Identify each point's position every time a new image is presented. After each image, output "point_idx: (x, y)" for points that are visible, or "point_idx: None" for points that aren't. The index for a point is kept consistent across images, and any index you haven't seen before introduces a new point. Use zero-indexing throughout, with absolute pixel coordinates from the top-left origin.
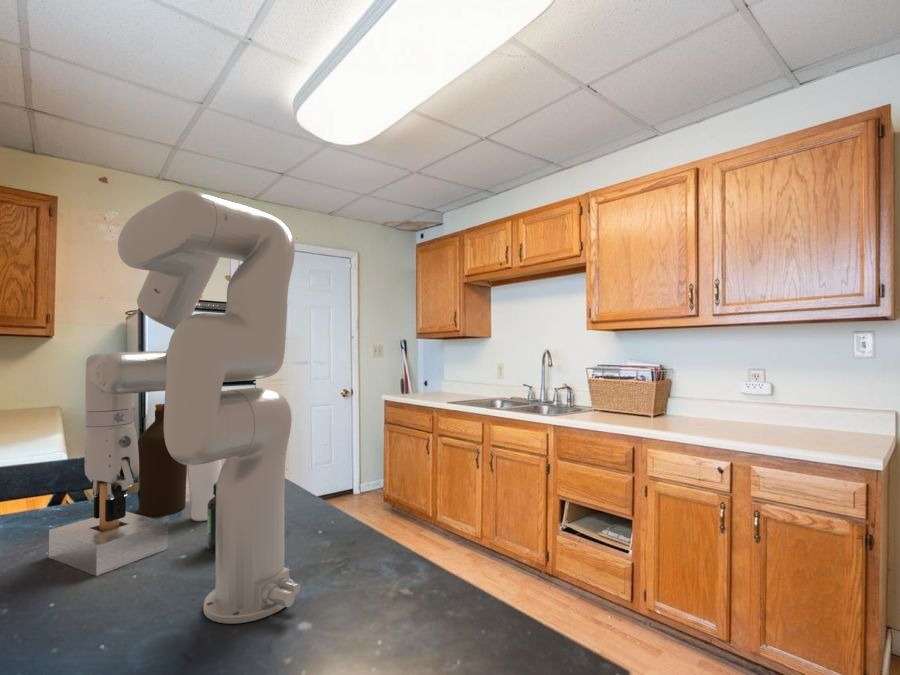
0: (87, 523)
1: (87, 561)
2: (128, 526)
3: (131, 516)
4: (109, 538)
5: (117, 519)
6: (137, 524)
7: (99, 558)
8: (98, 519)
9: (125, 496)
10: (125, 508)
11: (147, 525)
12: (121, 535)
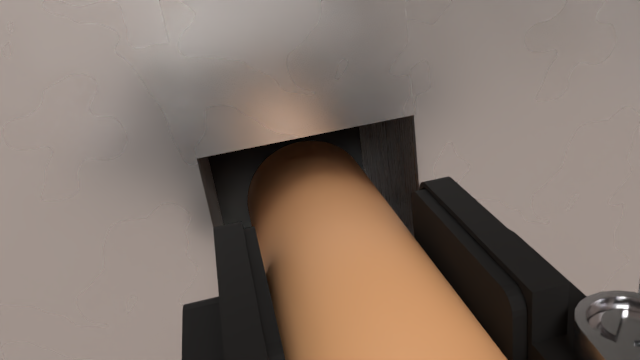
0: (84, 332)
1: None
2: (469, 139)
3: (198, 22)
4: (586, 289)
5: (397, 216)
6: (492, 76)
7: None
8: (32, 254)
9: (562, 278)
10: (478, 204)
11: (588, 30)
12: (606, 227)
